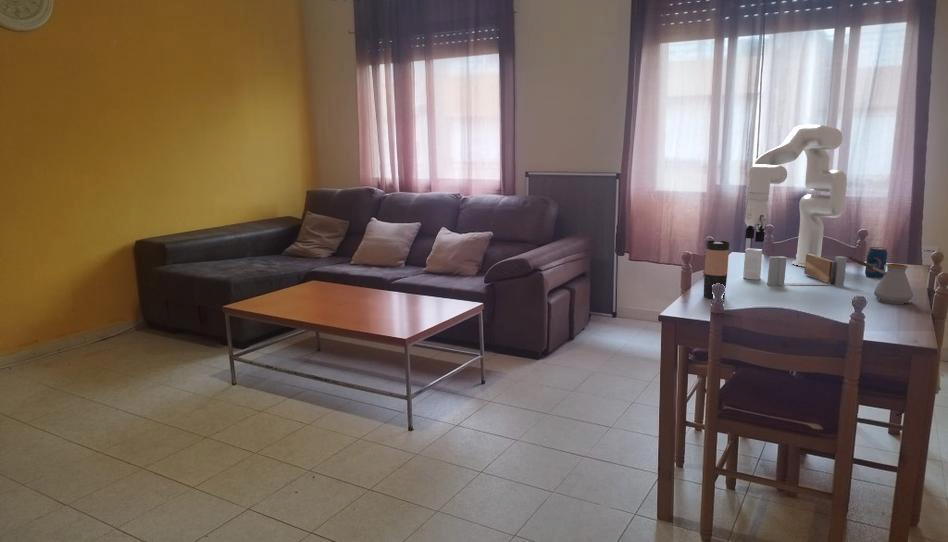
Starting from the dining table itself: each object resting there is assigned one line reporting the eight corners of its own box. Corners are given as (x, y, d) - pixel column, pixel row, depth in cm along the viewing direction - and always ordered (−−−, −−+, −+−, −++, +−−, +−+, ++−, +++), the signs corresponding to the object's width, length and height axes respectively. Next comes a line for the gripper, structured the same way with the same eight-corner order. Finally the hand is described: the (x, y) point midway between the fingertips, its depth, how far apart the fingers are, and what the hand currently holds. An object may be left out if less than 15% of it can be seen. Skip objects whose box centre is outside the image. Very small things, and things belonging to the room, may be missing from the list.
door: (807, 273, 268) (810, 253, 266) (834, 284, 249) (837, 262, 248) (804, 274, 268) (806, 253, 266) (830, 284, 249) (833, 262, 248)
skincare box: (760, 278, 263) (763, 249, 260) (758, 280, 259) (761, 250, 257) (744, 276, 266) (746, 247, 263) (742, 278, 262) (744, 249, 260)
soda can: (861, 276, 265) (865, 247, 262) (868, 274, 269) (871, 246, 267) (880, 279, 259) (884, 250, 257) (886, 277, 264) (890, 248, 262)
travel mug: (714, 300, 227) (718, 244, 223) (698, 296, 233) (701, 241, 229) (730, 298, 230) (734, 242, 226) (713, 293, 237) (717, 239, 233)
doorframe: (766, 284, 252) (768, 256, 250) (839, 284, 252) (842, 256, 249) (769, 285, 249) (772, 257, 247) (843, 285, 249) (847, 257, 246)
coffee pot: (907, 299, 228) (913, 257, 225) (915, 307, 217) (921, 263, 214) (839, 294, 236) (843, 253, 233) (843, 301, 225) (848, 259, 222)
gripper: (740, 195, 264) (736, 236, 268) (757, 198, 247) (753, 243, 251) (758, 195, 264) (754, 237, 267) (777, 199, 247) (773, 243, 250)
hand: (754, 240), depth 259 cm, fingers open, 9 cm apart
